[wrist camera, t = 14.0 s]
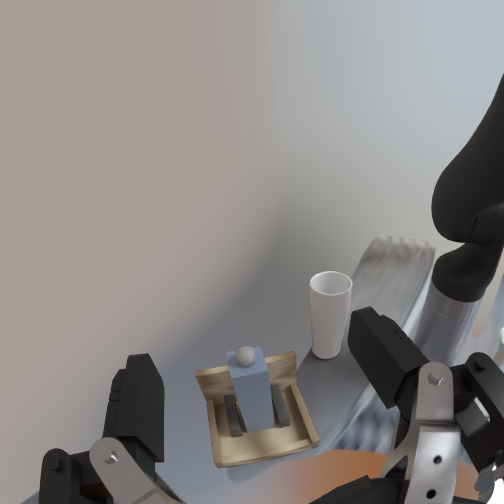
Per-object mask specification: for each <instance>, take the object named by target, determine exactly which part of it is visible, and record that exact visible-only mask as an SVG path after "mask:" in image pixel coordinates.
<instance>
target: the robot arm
mask: <svg viewBox="0 0 504 504" xmlns="http://www.w3.org/2000/svg"><path fill="white" fill-rule="evenodd" d="M431 209H432V218H433V222H434V225H435V227H436V229H437V231H438V232H439V233H440V234H441V235H442V236H443V237H445V238H446V239H448V240H451V241H455V242H460V243H465V244H464V245H462V246H461V247H459V248H458V249H456V250H453V251H451V252H448V253H446V254H443V255H442V256H440V257H439V258H438V259H437V261H436V263H435V265H434V269H433V273H432V278H431V282H430V286H429V290H428V294H427V297H426V301H425V305H424V308H423V311H422V315H421V318H420V321H419V324H418V327H417V330H416V333H415V336H414V339H413V342H412V340H411V339H410V338H409V337H407V335H406V334H405V332H404V331H403V330H401V328H400V327H399V326H398V325H397V324H396V322H395V321H394V320H392V319H390V318H388V317H386V316H385V315H381V316H379V315H378V314H377V312H376V311H375V310H374V309H373V308H372V307H366V308H363V309H359V310H356V311H353V312H352V314H351V320H350V327H349V334H348V346H349V349H350V351H351V353H352V355H353V356H354V358H355V359H356V361H357V362H358V364H359V365H360V367H361V369H362V370H363V372H364V373H365V375H366V376H367V378H368V380H369V381H370V383H371V384H372V386H373V387H374V389H375V391H376V392H377V394H378V395H379V397H380V399H381V400H382V402H383V403H384V405H385V407H386V408H387V409H389V408H392V407H394V406H396V405H397V407H398V408H399V411H398V414H397V419H396V425H395V430H394V435H393V440H392V445H391V449H390V453H389V455H388V457H387V459H386V461H385V464H384V466H383V469H382V472H381V476H380V478H373V479H369V477H368V475H366V476H364V477H361V478H359V479H357V480H354V481H352V482H349V483H347V484H344V485H342V486H339V487H337V488H335V489H334V490H332V491H330V492H329V493H327V494H325V495H323V496H322V497H320V498H318V499H316V500H315V501H313V502H311V503H309V504H504V373H503V372H502V371H501V370H500V368H499V367H498V366H497V365H496V364H495V362H494V361H493V360H492V359H491V358H490V357H489V356H488V355H486V354H484V353H481V352H476V353H473V354H471V355H470V356H469V358H468V360H467V361H466V363H465V364H462V365H457V366H453V367H452V365H453V363H454V361H455V360H456V358H457V356H458V354H459V352H460V350H461V348H462V346H463V344H464V342H465V340H466V337H467V335H468V333H469V331H470V329H471V326H472V324H473V322H474V319H475V317H476V314H477V312H478V309H479V307H480V304H481V301H482V299H483V296H484V293H485V290H486V288H487V286H488V285H489V284H490V282H491V281H492V279H493V277H494V275H495V272H496V269H497V266H498V263H499V260H500V257H501V254H502V251H503V248H504V74H503V76H502V79H501V81H500V83H499V86H498V89H497V91H496V94H495V96H494V99H493V101H492V103H491V105H490V107H489V109H488V111H487V112H486V114H485V116H484V118H483V119H482V121H481V123H480V124H479V126H478V128H477V129H476V131H475V132H474V134H473V136H472V137H471V139H470V140H469V141H468V143H467V144H466V145H465V146H464V148H463V149H462V150H461V151H460V152H459V154H458V155H457V156H456V157H455V158H454V159H453V160H452V161H451V163H450V164H449V165H448V166H447V167H446V168H445V170H444V171H443V172H442V174H441V175H440V177H439V179H438V181H437V184H436V186H435V189H434V193H433V197H432V208H431ZM476 397H477V398H478V400H479V401H480V403H481V404H482V405H483V407H484V408H485V410H486V411H487V413H488V414H489V417H490V422H489V421H488V420H487V418H486V417H485V415H484V414H483V412H482V411H481V409H480V408H479V407H478V405H477V404H476V402H475V401H474V400H475V399H476ZM460 441H461V443H462V444H463V446H464V448H465V450H466V452H467V453H468V455H469V457H470V459H471V461H472V462H473V464H474V466H475V468H476V470H477V472H478V474H479V476H478V480H477V482H476V483H475V485H474V489H475V490H476V491H479V498H478V501H475V500H471V499H465V498H461V497H457V496H453V495H454V489H455V483H456V477H457V470H458V462H459V452H460ZM155 462H164V385H163V381H162V378H161V376H160V374H159V372H158V371H157V369H156V367H155V365H154V363H153V361H152V359H151V357H150V356H149V354H147V353H146V354H138V355H130V356H128V359H127V364H126V369H120V370H119V371H118V372H117V374H116V376H115V377H114V379H113V381H112V386H111V393H110V396H109V403H108V407H107V413H106V419H105V426H104V431H103V436H102V439H99V440H98V441H96V442H95V443H94V444H93V445H92V447H91V449H90V450H89V451H86V452H82V453H77V454H72V455H69V454H68V453H66V452H65V451H64V450H62V449H58V448H57V449H56V448H55V449H52V450H50V451H48V452H47V453H46V454H45V456H44V458H43V462H42V470H41V479H40V491H39V504H113V498H114V499H115V501H116V502H117V503H118V504H186V503H185V502H184V501H183V500H182V499H181V498H180V497H179V496H178V495H177V494H176V493H175V492H174V491H173V490H172V489H171V488H170V487H169V486H168V485H167V484H166V483H165V482H164V480H163V479H162V478H161V477H160V476H159V475H158V474H157V473H156V472H155Z"/></svg>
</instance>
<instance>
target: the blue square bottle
mask: <svg viewBox="0 0 504 504" xmlns="http://www.w3.org/2000/svg"><path fill="white" fill-rule="evenodd" d="M227 358H228V364H229V370H230V375H231V380H232V383H233V387H234V390H235V393H236V397H237V400H238V404H239V407H240V410H241V413H242V417H243V420H244V423H245V426H246V429H247V432H253V431H258V430H263V429H267V428H272V427H275V423H274V414H273V405H272V396H271V388H270V379H269V370H268V367H267V364H266V361H265V358H264V355H263V352H262V349H261V346H255V347H250V346H241V347H240V348H238V349H237V350H236V351H231V352H227Z"/></svg>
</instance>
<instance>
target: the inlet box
mask: <svg viewBox="0 0 504 504" xmlns="http://www.w3.org/2000/svg"><path fill="white" fill-rule="evenodd" d="M265 361H266V364H267V367H268V370H269V379H270V388H271V396H272V405H273V414H274V423H275V427H272V428H267V429H263V430H258V431H253V432H247V429H246V426H245V423H244V420H243V417H242V413H241V410H240V407H239V404H238V400H237V397H236V393H235V390H234V387H233V383H232V380H231V375H230V370H229V365H228V366H222V367H216V368H210V369H204V370H197V371H195V375H196V378H197V381H198V383H199V385H200V387H201V390H202V392H203V394H204V397H205V399H206V401H207V410H208V420H209V428H210V436H211V443H212V451H213V458H214V464H215V465H216V466H217V467H218V468H225V467H232V466H239V465H245V464H251V463H256V462H261V461H266V460H270V459H275V458H279V457H283V456H287V455H291V454H295V453H298V452H302V451H305V450H309V449H312V448H315V447H318V445H319V441H320V440H319V437H318V435H317V432H316V430H315V428H314V425H313V423H312V420H311V418H310V415H309V413H308V410H307V408H306V406H305V403H304V401H303V398H302V396H301V393H300V391H299V388H298V386H297V383H296V354H295V352H294V351H292V352H288V353H284V354H279V355H275V356H271V357H267V358H265Z"/></svg>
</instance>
